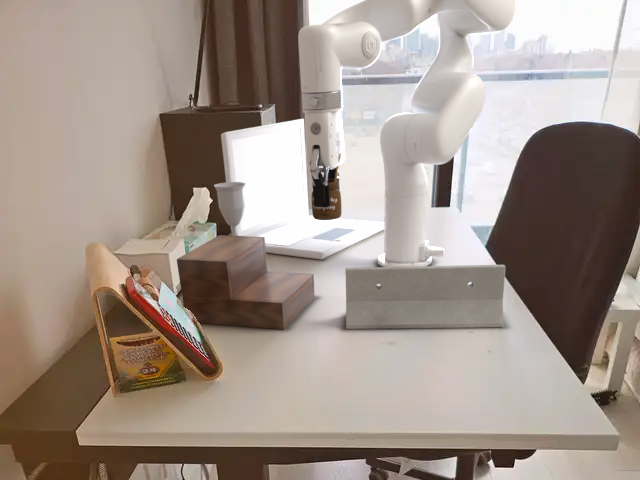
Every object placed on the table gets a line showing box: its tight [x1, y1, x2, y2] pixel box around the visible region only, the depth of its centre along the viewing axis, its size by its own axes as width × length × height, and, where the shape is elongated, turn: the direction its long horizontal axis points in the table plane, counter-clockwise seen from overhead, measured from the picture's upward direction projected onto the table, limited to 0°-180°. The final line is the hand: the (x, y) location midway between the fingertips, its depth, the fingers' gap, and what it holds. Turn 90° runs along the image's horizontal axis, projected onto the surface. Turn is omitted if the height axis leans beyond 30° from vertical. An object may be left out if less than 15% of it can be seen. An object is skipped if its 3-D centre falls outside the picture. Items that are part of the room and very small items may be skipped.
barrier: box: [345, 264, 507, 330], centre depth 116 cm, size 28×7×10 cm, turn 86°
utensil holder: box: [311, 153, 342, 220], centre depth 128 cm, size 6×6×12 cm
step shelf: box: [176, 234, 316, 330], centre depth 125 cm, size 20×18×12 cm
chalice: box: [213, 182, 245, 236], centre depth 154 cm, size 7×7×18 cm
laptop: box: [220, 118, 384, 260], centre depth 169 cm, size 34×28×28 cm
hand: (327, 202), depth 130 cm, fingers closed on utensil holder, 6 cm apart
